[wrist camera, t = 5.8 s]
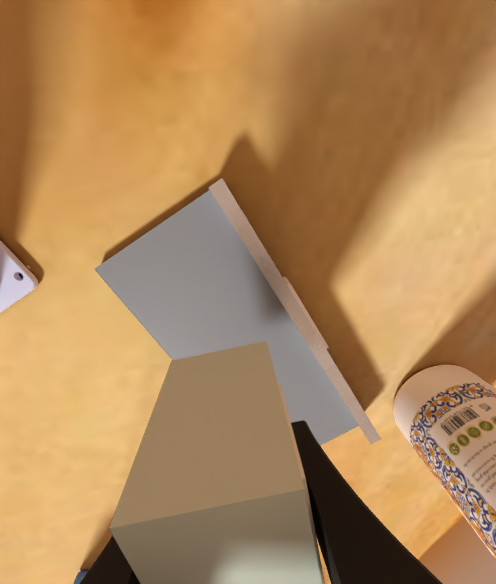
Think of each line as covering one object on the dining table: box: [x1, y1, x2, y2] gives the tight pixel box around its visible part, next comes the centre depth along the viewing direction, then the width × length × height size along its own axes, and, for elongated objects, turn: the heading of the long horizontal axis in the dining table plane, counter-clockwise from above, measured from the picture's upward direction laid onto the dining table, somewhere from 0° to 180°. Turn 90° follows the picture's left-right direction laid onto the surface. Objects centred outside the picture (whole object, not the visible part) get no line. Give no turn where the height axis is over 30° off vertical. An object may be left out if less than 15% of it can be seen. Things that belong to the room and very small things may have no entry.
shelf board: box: [94, 178, 381, 445], centre depth 18 cm, size 20×9×2 cm, turn 32°
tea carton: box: [109, 341, 325, 584], centre depth 9 cm, size 4×7×6 cm, turn 11°
